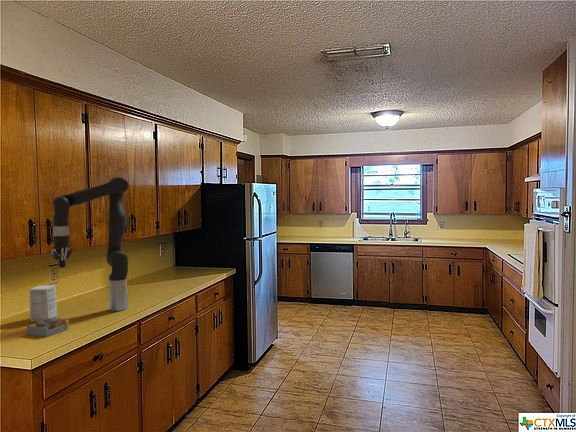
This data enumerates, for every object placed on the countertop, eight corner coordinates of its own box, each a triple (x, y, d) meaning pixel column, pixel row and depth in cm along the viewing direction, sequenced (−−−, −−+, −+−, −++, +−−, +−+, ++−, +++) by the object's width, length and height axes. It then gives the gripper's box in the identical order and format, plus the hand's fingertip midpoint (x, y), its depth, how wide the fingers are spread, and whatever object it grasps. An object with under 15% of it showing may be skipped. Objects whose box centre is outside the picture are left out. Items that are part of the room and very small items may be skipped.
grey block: (52, 328, 207) (52, 317, 207) (61, 330, 205) (61, 318, 204) (35, 334, 198) (35, 322, 198) (45, 335, 196) (45, 323, 196)
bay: (49, 326, 210) (49, 317, 210) (69, 329, 206) (68, 320, 206) (27, 334, 198) (26, 325, 198) (46, 337, 194) (46, 327, 194)
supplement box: (57, 316, 228) (56, 285, 228) (48, 321, 219) (47, 288, 218) (39, 316, 228) (38, 285, 227) (29, 321, 219) (28, 289, 218)
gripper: (66, 233, 230) (66, 265, 231) (44, 235, 218) (45, 269, 218) (76, 233, 228) (77, 266, 228) (56, 236, 215) (57, 270, 216)
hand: (62, 267), depth 223 cm, fingers closed
